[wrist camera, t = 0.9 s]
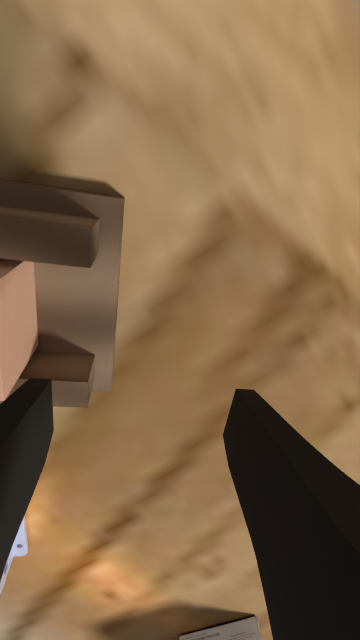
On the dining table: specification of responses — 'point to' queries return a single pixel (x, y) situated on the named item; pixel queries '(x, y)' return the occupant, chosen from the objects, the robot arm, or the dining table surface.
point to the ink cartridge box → (229, 631)
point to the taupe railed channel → (67, 282)
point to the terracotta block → (16, 321)
